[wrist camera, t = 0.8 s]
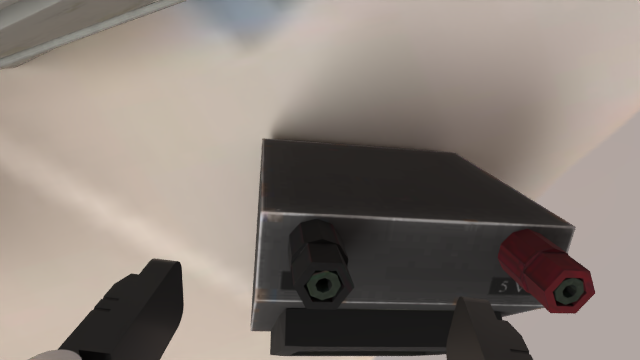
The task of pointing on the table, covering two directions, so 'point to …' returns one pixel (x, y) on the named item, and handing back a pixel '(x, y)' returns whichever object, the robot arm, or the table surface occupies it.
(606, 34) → the table surface
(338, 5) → the table surface
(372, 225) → the voltmeter
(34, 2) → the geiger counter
